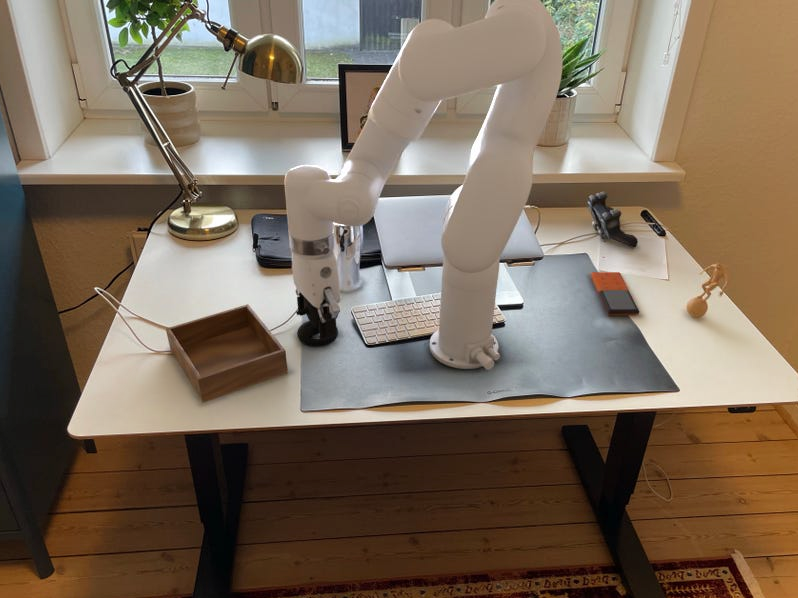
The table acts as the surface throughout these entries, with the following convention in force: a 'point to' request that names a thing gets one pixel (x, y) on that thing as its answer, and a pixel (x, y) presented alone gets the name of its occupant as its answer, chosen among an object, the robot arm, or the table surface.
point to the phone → (614, 293)
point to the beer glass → (348, 255)
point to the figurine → (708, 290)
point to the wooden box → (226, 352)
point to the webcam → (312, 326)
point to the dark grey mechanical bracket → (608, 220)
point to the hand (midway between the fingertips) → (317, 324)
